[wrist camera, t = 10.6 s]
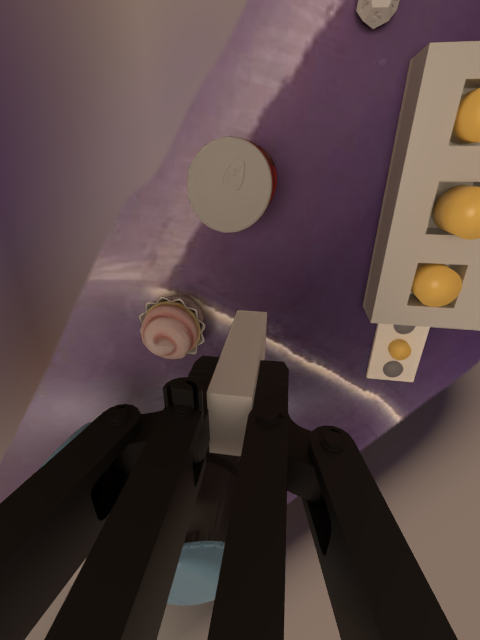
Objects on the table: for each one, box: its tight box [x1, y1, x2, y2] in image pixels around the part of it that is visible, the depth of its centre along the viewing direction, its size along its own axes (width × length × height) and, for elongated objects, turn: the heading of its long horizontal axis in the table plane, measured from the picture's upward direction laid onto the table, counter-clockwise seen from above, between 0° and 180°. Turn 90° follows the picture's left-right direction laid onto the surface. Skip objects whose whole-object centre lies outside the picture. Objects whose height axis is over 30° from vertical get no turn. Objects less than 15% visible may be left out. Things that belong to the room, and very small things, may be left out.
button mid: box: [433, 185, 480, 240], centre depth 30 cm, size 4×4×4 cm
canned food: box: [187, 137, 277, 233], centre depth 33 cm, size 8×8×11 cm
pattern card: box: [366, 323, 430, 382], centre depth 43 cm, size 11×6×2 cm, turn 179°
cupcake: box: [139, 295, 205, 359], centre depth 43 cm, size 9×9×10 cm
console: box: [363, 41, 480, 330], centre depth 34 cm, size 26×12×5 cm, turn 179°
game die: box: [356, 0, 399, 29], centre depth 28 cm, size 4×4×3 cm
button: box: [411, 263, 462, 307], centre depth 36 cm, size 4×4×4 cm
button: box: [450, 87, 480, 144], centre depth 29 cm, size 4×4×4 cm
